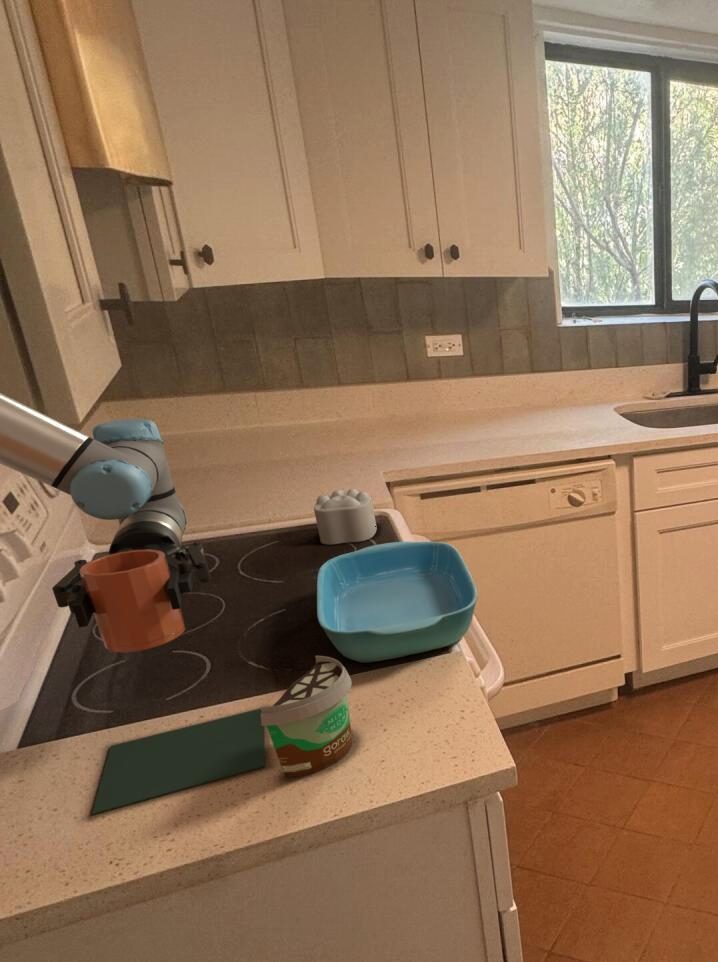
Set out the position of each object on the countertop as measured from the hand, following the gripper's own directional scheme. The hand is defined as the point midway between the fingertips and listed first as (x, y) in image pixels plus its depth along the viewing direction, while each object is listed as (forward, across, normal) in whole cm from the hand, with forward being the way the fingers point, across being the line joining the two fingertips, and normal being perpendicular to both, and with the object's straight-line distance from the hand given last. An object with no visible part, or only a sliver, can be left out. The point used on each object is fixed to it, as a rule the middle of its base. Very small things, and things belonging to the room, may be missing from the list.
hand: (127, 607), depth 90 cm
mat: (+6, -2, -18) cm, 19 cm away
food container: (+14, -17, -18) cm, 28 cm away
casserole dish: (-20, -30, -18) cm, 40 cm away
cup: (-5, 0, -6) cm, 8 cm away
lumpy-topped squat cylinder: (-69, -27, -18) cm, 76 cm away
